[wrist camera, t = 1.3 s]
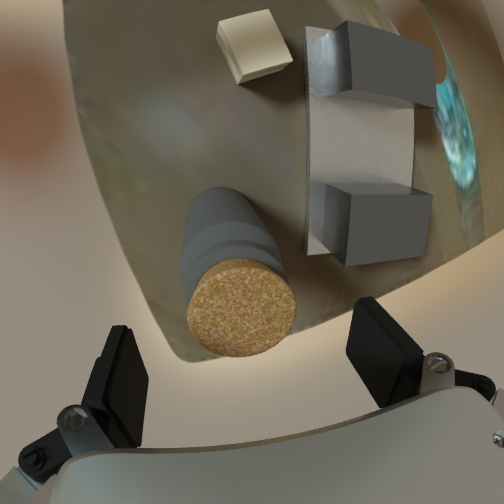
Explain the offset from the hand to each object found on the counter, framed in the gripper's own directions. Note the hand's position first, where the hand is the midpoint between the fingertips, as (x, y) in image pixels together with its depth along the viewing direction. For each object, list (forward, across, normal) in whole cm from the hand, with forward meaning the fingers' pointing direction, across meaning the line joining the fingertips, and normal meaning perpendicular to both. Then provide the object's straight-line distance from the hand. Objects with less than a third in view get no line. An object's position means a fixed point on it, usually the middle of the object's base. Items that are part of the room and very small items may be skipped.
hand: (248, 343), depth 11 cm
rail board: (+16, -14, -8) cm, 23 cm away
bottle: (+16, 0, -1) cm, 16 cm away
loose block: (+16, -3, -16) cm, 23 cm away
